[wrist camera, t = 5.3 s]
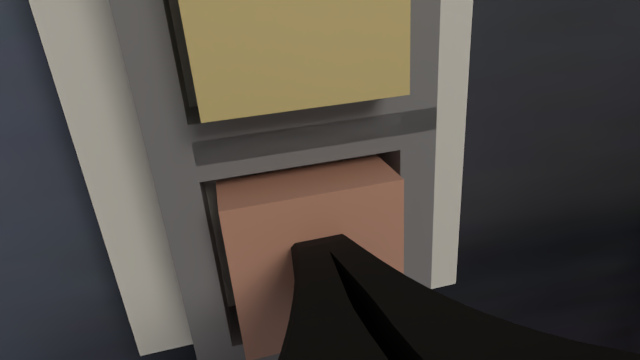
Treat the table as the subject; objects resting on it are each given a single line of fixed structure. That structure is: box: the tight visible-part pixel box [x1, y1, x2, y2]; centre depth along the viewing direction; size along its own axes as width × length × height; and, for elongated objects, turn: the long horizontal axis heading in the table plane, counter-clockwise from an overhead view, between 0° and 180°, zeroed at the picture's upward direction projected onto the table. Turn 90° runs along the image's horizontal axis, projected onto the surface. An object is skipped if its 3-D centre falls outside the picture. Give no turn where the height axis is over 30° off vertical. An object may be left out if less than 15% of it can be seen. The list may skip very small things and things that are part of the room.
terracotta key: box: [216, 155, 404, 360], centre depth 12 cm, size 4×4×2 cm
